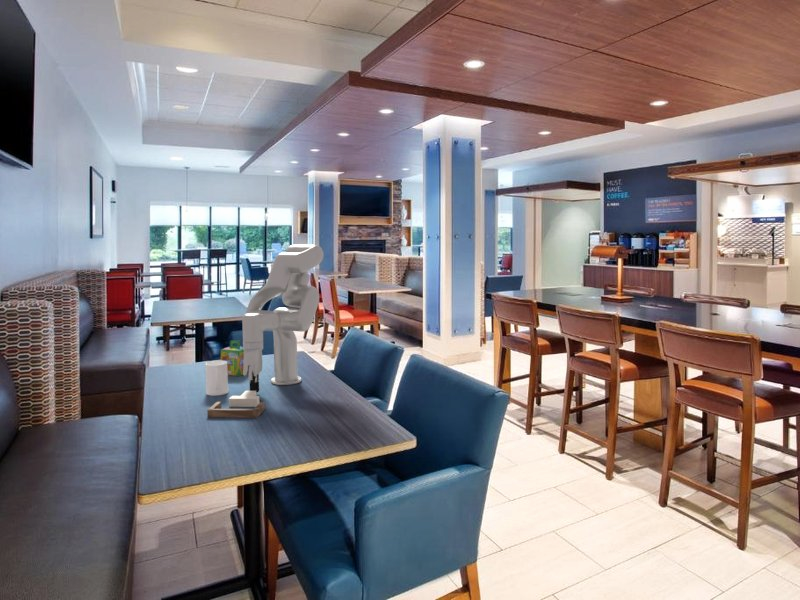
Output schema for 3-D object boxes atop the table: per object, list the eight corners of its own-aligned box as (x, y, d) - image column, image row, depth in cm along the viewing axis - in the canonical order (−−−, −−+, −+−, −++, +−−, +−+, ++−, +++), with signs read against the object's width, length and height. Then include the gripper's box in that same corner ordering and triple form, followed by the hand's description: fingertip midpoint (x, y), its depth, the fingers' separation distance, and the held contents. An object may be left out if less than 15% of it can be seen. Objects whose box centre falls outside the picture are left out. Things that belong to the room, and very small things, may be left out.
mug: (227, 397, 200) (226, 366, 198) (203, 398, 198) (202, 367, 196) (229, 388, 211) (228, 359, 210) (207, 390, 209) (205, 360, 208)
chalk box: (220, 375, 231) (219, 342, 230) (230, 370, 240) (229, 338, 239) (240, 376, 230) (238, 343, 228) (249, 371, 239) (248, 339, 237)
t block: (238, 398, 199) (237, 390, 198) (264, 398, 199) (264, 390, 198) (229, 406, 189) (228, 398, 188) (256, 406, 189) (256, 398, 188)
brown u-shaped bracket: (217, 408, 186) (216, 401, 186) (264, 408, 186) (264, 402, 186) (207, 417, 177) (207, 410, 177) (257, 417, 177) (257, 410, 177)
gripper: (249, 341, 209) (250, 386, 211) (237, 349, 194) (238, 397, 196) (268, 341, 208) (269, 386, 211) (257, 349, 194) (258, 397, 196)
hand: (254, 391), depth 203 cm, fingers closed
